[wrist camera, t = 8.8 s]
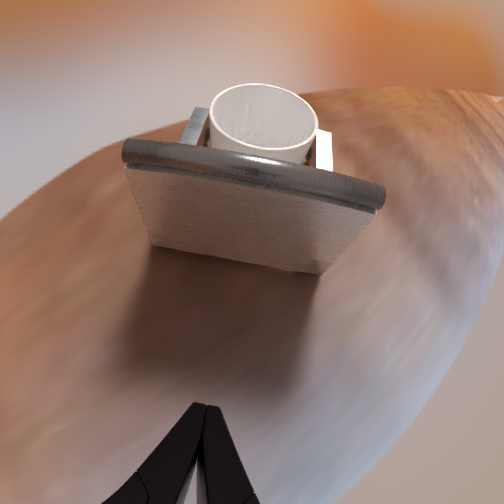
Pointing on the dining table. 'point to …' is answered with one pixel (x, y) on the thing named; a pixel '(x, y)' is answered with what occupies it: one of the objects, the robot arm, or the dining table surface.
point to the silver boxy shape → (248, 200)
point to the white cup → (262, 122)
